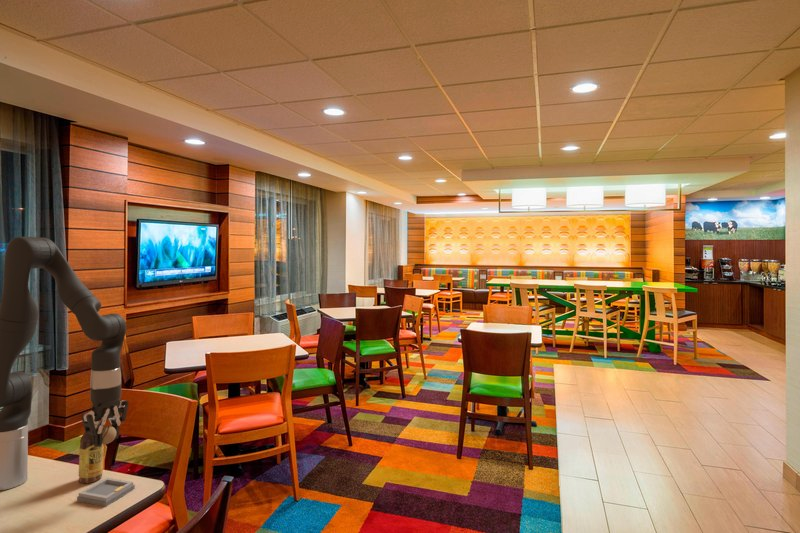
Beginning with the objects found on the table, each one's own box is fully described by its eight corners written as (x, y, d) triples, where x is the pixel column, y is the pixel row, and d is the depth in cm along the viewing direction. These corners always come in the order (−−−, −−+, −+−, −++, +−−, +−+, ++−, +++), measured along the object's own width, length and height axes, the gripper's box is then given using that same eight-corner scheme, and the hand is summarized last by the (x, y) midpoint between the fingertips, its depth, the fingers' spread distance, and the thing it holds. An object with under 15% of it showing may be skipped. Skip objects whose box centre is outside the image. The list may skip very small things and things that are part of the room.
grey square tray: (77, 501, 130) (77, 492, 130) (107, 484, 140) (107, 475, 140) (106, 506, 128) (106, 497, 128) (134, 488, 138) (134, 480, 138)
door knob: (106, 439, 136) (106, 422, 136) (120, 440, 135) (120, 424, 135) (91, 445, 131) (91, 428, 131) (106, 447, 130) (106, 430, 130)
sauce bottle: (90, 485, 139) (91, 420, 138) (73, 483, 140) (73, 418, 140) (108, 475, 145) (109, 413, 145) (91, 473, 146) (92, 411, 146)
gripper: (116, 376, 141) (116, 431, 141) (72, 389, 127) (72, 450, 127) (136, 378, 139) (136, 434, 139) (94, 392, 125) (94, 454, 125)
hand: (106, 441), depth 133 cm, fingers closed on door knob, 5 cm apart
